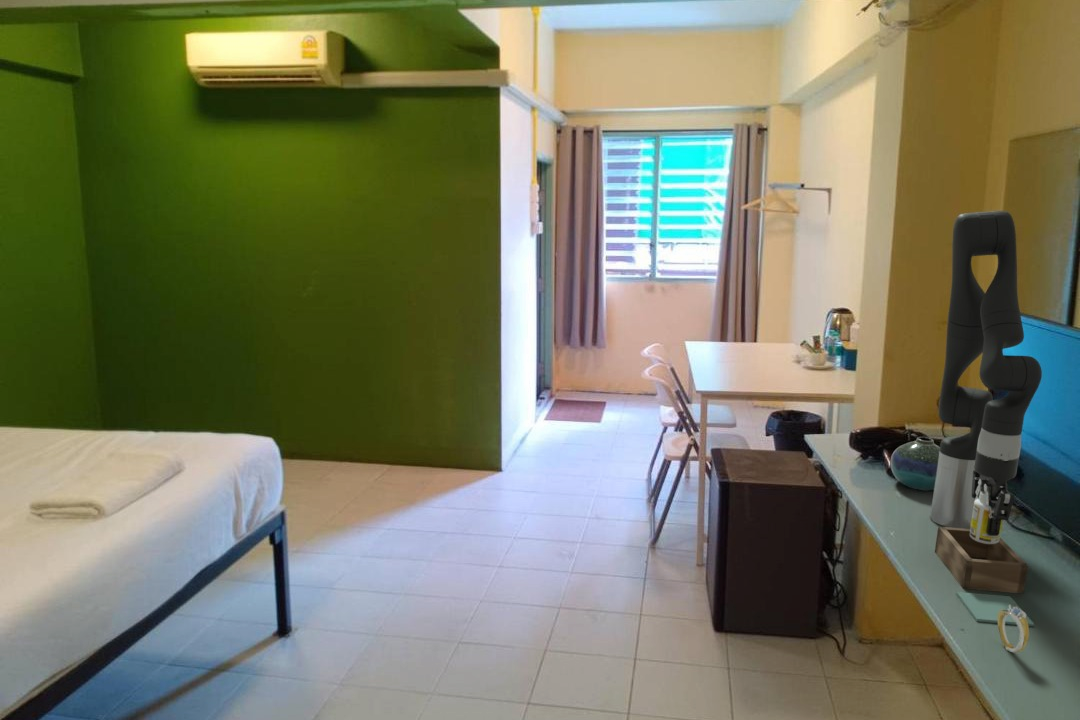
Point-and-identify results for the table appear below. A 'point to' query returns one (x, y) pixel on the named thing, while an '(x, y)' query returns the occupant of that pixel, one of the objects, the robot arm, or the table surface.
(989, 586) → the box
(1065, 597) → the table surface
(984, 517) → the supplement bottle
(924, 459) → the vase
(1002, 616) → the ring
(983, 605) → the mat
